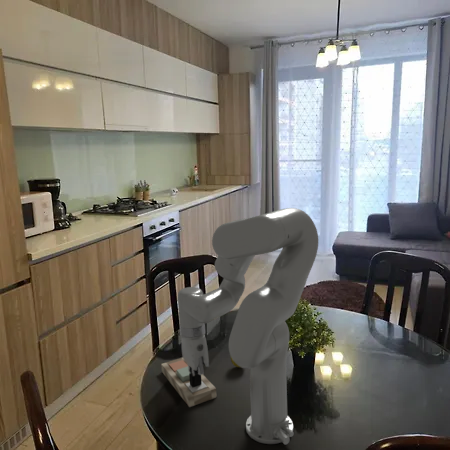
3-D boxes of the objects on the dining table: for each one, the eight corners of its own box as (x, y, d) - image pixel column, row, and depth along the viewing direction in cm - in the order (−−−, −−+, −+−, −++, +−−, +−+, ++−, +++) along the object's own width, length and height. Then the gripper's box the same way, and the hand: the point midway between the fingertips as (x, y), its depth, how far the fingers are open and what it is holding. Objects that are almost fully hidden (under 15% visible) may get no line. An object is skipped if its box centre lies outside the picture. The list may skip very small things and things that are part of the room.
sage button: (197, 380, 131) (197, 372, 131) (183, 384, 129) (182, 377, 129) (191, 372, 136) (190, 365, 135) (177, 377, 133) (176, 369, 133)
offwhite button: (207, 394, 126) (207, 386, 125) (192, 399, 123) (192, 391, 123) (200, 386, 130) (200, 378, 129) (186, 391, 128) (185, 383, 127)
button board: (216, 397, 125) (216, 388, 124) (189, 407, 121) (188, 397, 120) (186, 364, 145) (185, 356, 144) (162, 371, 141) (161, 363, 140)
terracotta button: (189, 373, 138) (188, 366, 137) (175, 378, 135) (174, 370, 135) (183, 367, 142) (182, 360, 142) (169, 371, 140) (169, 364, 139)
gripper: (215, 335, 118) (218, 393, 121) (193, 317, 131) (196, 370, 134) (191, 342, 115) (194, 401, 118) (171, 323, 127) (175, 377, 131)
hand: (195, 384), depth 126 cm, fingers closed
